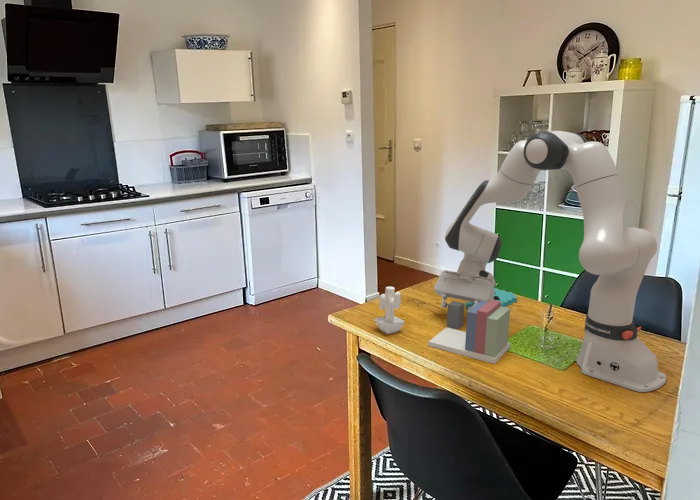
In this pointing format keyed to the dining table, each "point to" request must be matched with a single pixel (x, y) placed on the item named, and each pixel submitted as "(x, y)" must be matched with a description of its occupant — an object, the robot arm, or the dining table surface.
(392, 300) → the figurine
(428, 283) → the dining table surface
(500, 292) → the alien figure
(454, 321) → the bookend block
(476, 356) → the shelf board
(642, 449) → the dining table surface
